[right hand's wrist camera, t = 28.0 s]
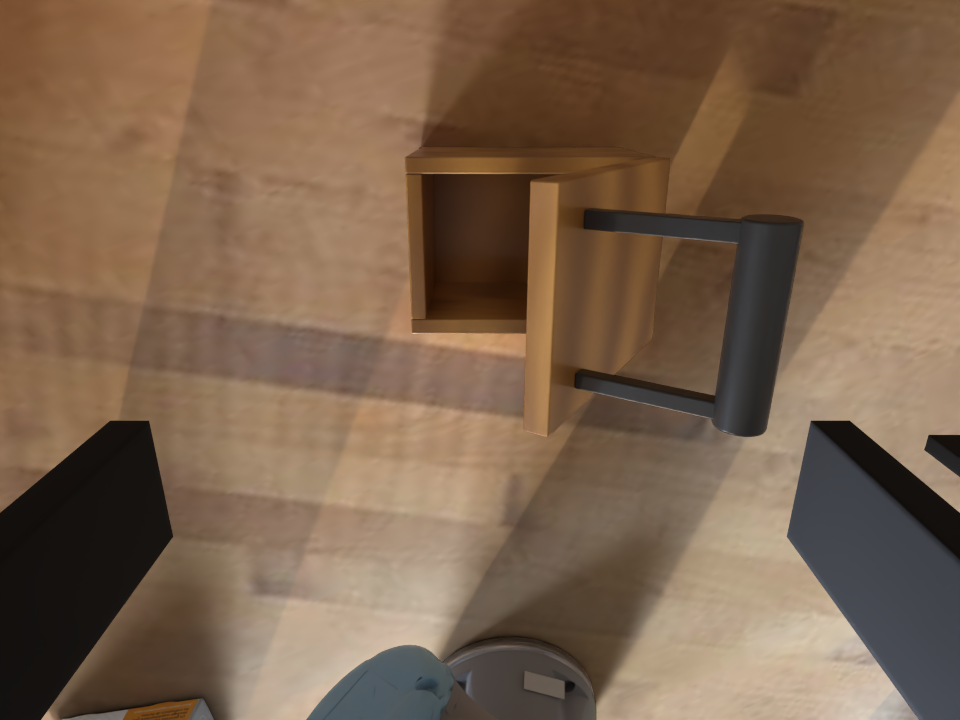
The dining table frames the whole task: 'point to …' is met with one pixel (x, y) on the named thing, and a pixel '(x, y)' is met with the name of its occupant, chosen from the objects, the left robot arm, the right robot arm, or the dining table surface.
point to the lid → (643, 297)
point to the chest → (479, 231)
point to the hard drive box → (157, 712)
